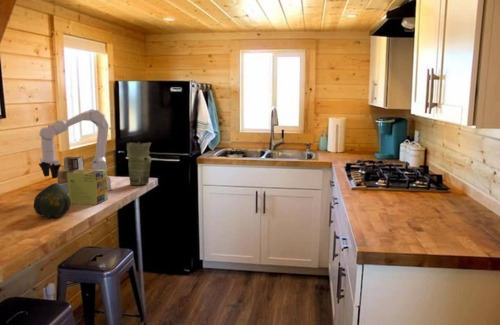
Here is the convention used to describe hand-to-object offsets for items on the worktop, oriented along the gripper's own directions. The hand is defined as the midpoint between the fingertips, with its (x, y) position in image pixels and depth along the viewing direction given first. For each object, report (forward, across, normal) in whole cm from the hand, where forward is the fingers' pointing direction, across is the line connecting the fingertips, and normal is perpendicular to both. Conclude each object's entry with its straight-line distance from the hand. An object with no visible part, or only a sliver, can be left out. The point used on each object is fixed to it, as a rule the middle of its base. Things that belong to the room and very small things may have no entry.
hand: (50, 177), depth 211 cm
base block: (+11, -4, +9) cm, 15 cm away
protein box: (+11, +23, +6) cm, 26 cm away
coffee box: (+11, -16, +23) cm, 30 cm away
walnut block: (+5, -4, +9) cm, 11 cm away
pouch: (+11, +14, +46) cm, 49 cm away
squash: (+11, +31, -17) cm, 37 cm away
